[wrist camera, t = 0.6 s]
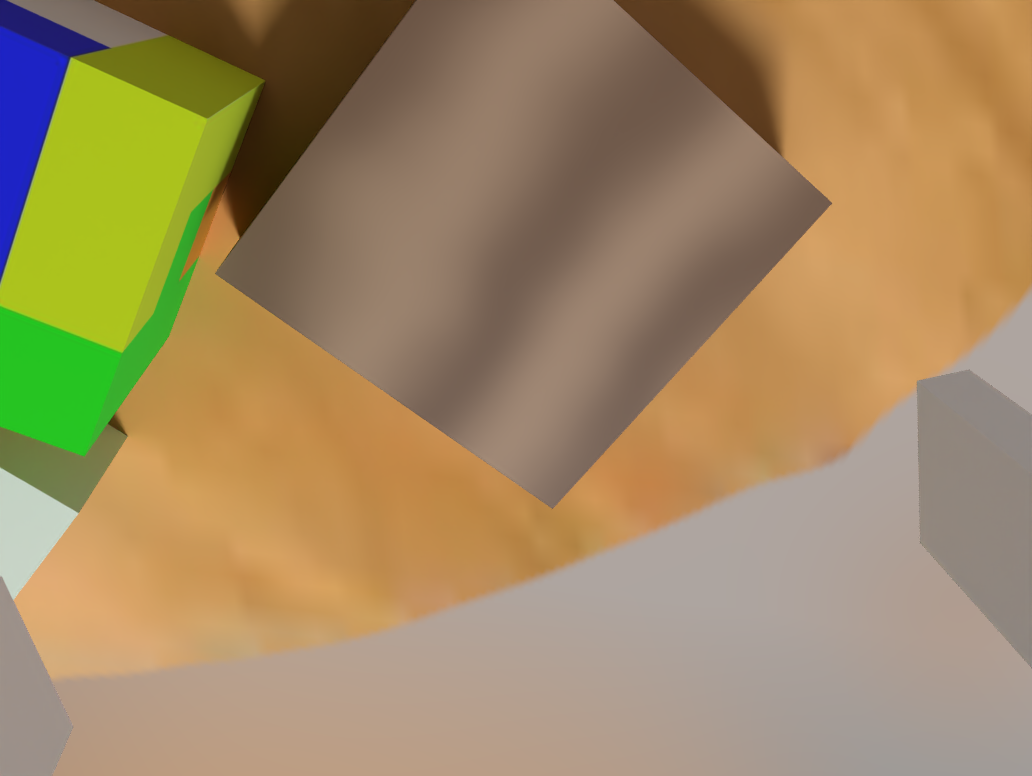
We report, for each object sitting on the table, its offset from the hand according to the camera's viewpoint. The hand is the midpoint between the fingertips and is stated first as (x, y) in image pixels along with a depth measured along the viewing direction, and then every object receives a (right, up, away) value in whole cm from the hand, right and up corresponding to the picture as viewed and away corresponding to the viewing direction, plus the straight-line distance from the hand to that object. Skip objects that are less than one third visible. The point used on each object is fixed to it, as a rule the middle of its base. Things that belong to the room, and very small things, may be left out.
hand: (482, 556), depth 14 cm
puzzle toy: (-15, +11, +20) cm, 27 cm away
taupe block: (0, +9, +22) cm, 24 cm away
